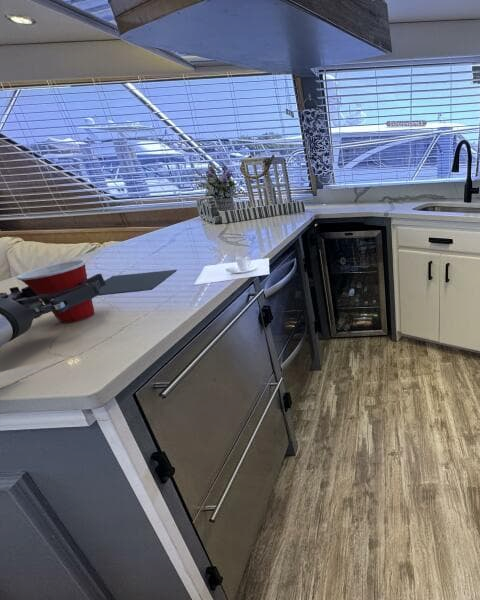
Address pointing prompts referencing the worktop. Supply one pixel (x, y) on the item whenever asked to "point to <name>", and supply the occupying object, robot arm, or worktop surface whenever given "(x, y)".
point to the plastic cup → (60, 286)
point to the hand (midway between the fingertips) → (76, 281)
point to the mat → (134, 282)
